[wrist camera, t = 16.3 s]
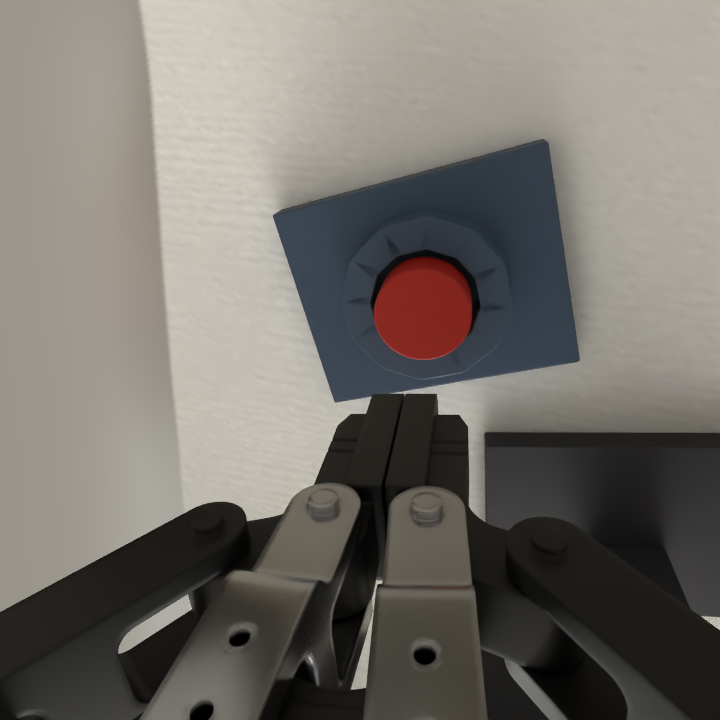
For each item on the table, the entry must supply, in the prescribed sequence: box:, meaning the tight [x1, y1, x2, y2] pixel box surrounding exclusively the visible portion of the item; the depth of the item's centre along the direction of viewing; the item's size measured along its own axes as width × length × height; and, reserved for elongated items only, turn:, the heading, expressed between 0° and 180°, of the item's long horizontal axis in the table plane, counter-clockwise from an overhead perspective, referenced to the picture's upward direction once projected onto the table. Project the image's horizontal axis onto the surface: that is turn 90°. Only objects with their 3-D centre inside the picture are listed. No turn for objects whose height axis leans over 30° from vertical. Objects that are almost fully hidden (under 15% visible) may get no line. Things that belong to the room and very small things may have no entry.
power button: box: [374, 256, 472, 360], centre depth 22 cm, size 4×4×2 cm
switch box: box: [273, 139, 580, 402], centre depth 24 cm, size 11×9×3 cm
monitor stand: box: [484, 433, 720, 617], centre depth 25 cm, size 10×13×8 cm
